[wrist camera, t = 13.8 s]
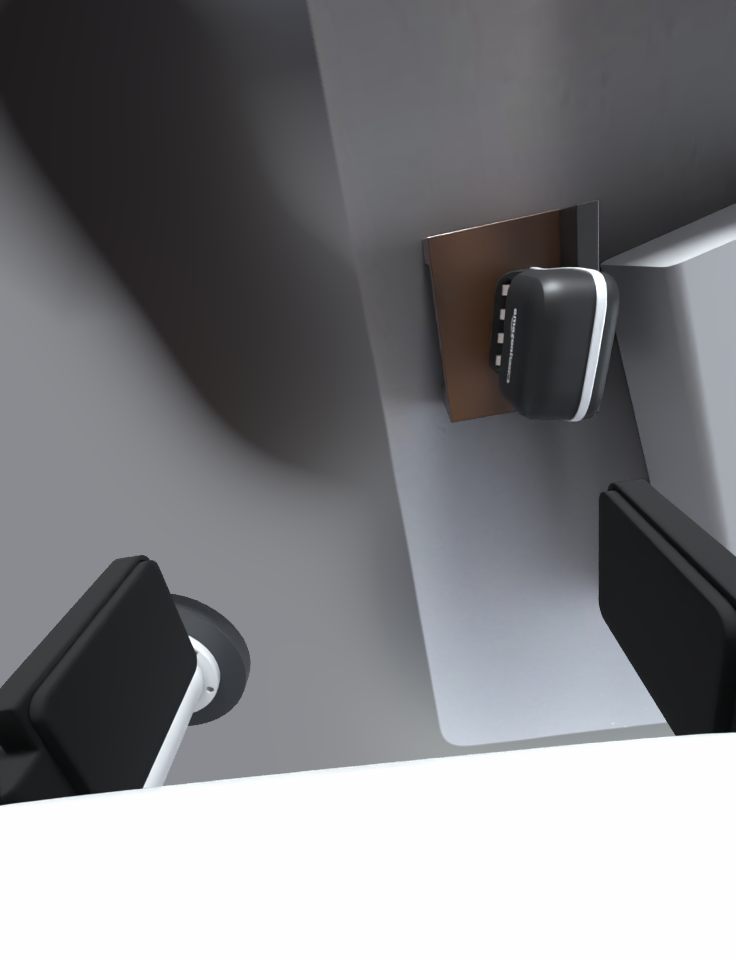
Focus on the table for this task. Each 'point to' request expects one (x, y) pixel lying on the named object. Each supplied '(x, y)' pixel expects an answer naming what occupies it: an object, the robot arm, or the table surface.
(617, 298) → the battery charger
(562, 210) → the brown flanged block
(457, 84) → the table surface
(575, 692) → the table surface
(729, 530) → the box
